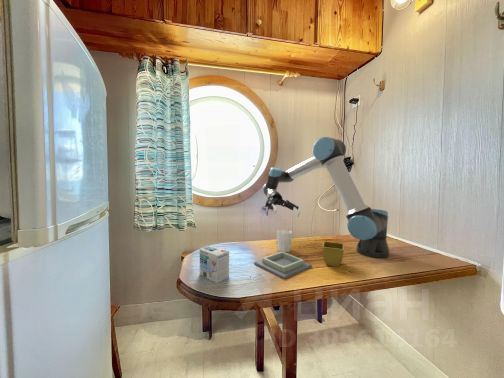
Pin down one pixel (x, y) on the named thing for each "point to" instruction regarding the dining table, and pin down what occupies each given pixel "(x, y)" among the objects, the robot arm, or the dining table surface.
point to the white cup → (284, 240)
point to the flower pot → (333, 253)
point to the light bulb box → (214, 263)
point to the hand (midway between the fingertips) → (287, 213)
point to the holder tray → (283, 264)
